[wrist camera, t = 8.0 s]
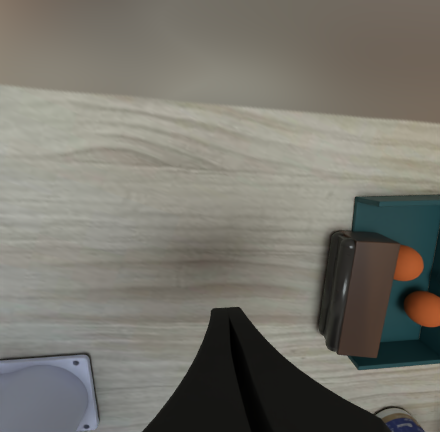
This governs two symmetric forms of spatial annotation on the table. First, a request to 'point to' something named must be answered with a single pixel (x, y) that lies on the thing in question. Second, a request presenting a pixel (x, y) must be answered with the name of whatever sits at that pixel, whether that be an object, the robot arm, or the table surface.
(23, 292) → the table surface
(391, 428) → the pill bottle
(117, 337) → the table surface
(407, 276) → the ball
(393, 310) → the dustpan
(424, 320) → the ball
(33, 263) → the table surface
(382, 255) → the brush
